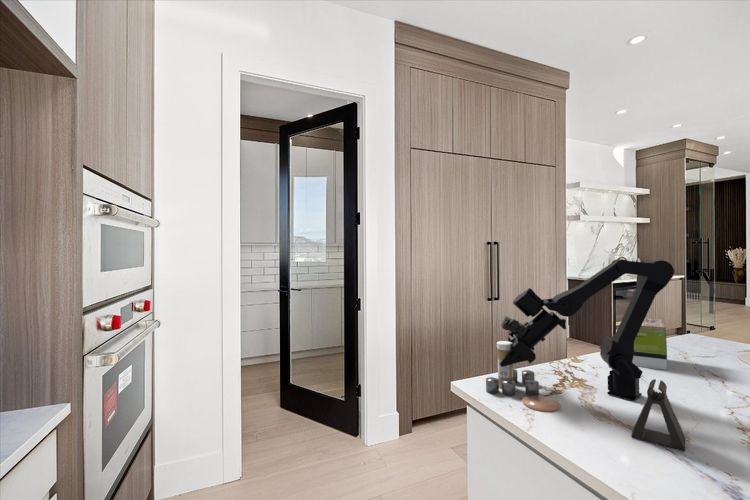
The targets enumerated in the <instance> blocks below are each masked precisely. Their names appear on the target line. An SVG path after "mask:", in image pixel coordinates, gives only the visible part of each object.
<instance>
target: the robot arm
mask: <svg viewBox="0 0 750 500" xmlns="http://www.w3.org/2000/svg"><path fill="white" fill-rule="evenodd" d="M625 274H627V275H635V276H636V288H635V290H634V293H633V295H632V298H631V299H630V301H629V303H628V306H627V307H626V311H625V313H624V314H623V317H622V319H621V321H620V323H619V326H618V327H617V329H616V332H615V333H614V334H613V335H612V336H611V337H609V336H607V335H605V336H603V341H602V344H601V345H600V346H599V347H598V348H599V349H600V351H599V354H600V358H601V359H602V360H603V362H605V363H606V364H607V365H608V368H609V369H611V370H609V371H608V372H609V375H607V390H608V392H606V393H607V395H610V396H612V397H616V398H620V399H625V400H627V401H632V402H635V401H637V400H638V399H639V398H641V396H642V394H643V393H642V392H640V379H641V378H642V375H643V370H641V368H640V367H639V366H636V365H635V364H634V363H632V361H633V356H634V341H635V339H636V336H637V334H638V332H639V330H640V328H641V326H642V324H643V321H644V319H645V318H647V315H648V313H649V310H650V309H651V307H652V305H653V303H654V300H655V297H656V296H657V294H658V293H660V292H661V291H662V290H664V289H665V288H666V286H667V285H668V284H669V282H670V281H671V280H672V279H673V277H674V275H675V268H674V267H673V265H672V263H670V262H668V261H666V260H661V259H648V260H647V259H646V260H645V261H641V262H640V261H631V260H627V259H623V258H619V259H618V258H617V259H614V260H612V261H611V262H610V264H608V265H607V266H605V267H604V268H602V269H600V270H599V271H598V272H596V273H595V274H593V275H591V276H590V277H589V278H588V279H586V280H585V281H583V282H582V283H580V284H579V285H577V286H575V287H573V288H570V289H567V290H565V291H563V292H560V293H558V294H556V295H554V296H553V297H551V298H543V299H542V298H541V297H540V296H538V295H537V294H536V293H535V291H534V289H532V288H531V287H529V288H527V289H526V290H524V291H523V292H521V293H519V294H518V295H517V296H516V297H515V298H514V300H513V301H512V304H513V305H514V306H515V307H516V308H517V309H518V310H519V311H520V312H521V313H522V314H524V316H525V317H526V318H527V317H530V316H531V317H532V319H531V320H530V321H525V322H524V323H521V322H519V321H518V320H516V319H515V318H511V317H509V316H504V319H502V323H501V328H502V329H503V330H505V331H508V332H507V335H508V336H507V341H508V342H511V343H513V345H512V344H511V343H510V351H509V352H508V354H507V355H506V356H505V357H504V359H503V360H502V361H501V363H500V365H501V366H502V367H504V366H507V365H511V364H513V365H514V364H517V363H522V362H528V363H529V364H532V363H533V362H534V361H535V360H536V359H537V358H536V356H537V355H536V352H535V351H534V350H535V347H536V346H537V345H538V344H539V343H540V342H541V341H542V342H545V340H546V337H547V336H548V335H549V334H550V333H551V332H552V331H553V330H555V329H556V327H558V326H559V327H561V328H562V329H563V330H566V329H567V325H566V323H567V319H565V318H560V317H559V316H558V315H560V316H561V317H566V318H567V317H568V318H569V317H573V316H574V315H575V314H576V313H577V312H578V311H579V310H580V309H582V307H583V306H584V305H585V303H586V302H587V300H589V299H590V298H591V297H592V296H594V295H596V294H598V293H599V292H600V291H601V290H603V289H605V288H606V287H608V286H609V285H610V284H612V283H613V282H615V281H616V280H619V278H621V277H623V276H624V275H625ZM544 307H545V308H546V309H548V311H551V312H548V311H547V310H546V309H545V308H544ZM556 313H557V314H558V315H557V314H556ZM533 317H534V318H533Z"/></svg>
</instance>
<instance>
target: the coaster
mask: <svg viewBox="0 0 750 500" xmlns="http://www.w3.org/2000/svg"><path fill="white" fill-rule="evenodd" d="M522 404H523V406H525V407H527V408H529V409H531V410H534V411H538V412H543V413H544V412H547V413H550V412H552V413H553V412H557V411H559V410H560V409H561V406H560V402H559V401H558V400H556V399H554V398H551V397H548V396H544V395H540V394H539V395H531V396H528V395H526V396H524V397H523V398H522Z"/></svg>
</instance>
